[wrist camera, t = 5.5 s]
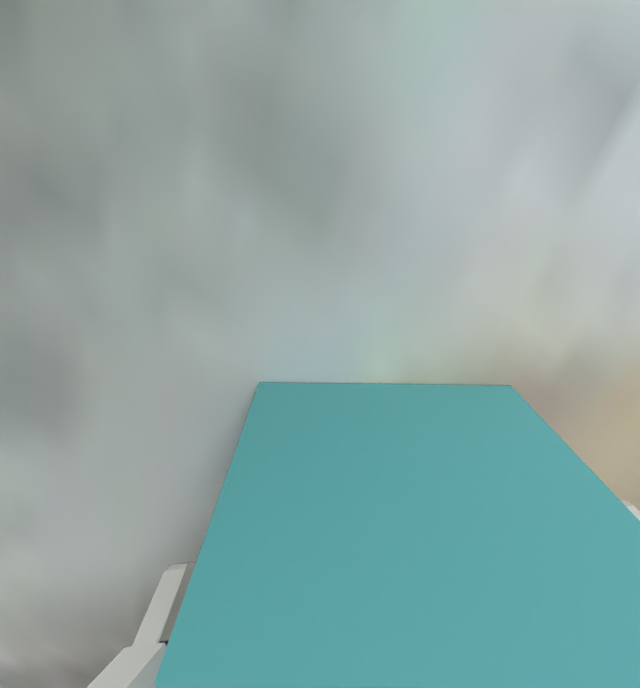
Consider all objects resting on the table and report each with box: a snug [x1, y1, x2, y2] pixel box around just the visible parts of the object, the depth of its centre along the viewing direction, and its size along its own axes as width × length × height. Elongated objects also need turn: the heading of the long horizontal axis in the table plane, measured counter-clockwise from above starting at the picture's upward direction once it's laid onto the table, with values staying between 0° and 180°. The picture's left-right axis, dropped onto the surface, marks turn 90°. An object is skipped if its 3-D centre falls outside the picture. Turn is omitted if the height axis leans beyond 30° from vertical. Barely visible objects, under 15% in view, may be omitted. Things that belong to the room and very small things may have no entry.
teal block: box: [155, 382, 640, 688], centre depth 7 cm, size 6×6×6 cm
